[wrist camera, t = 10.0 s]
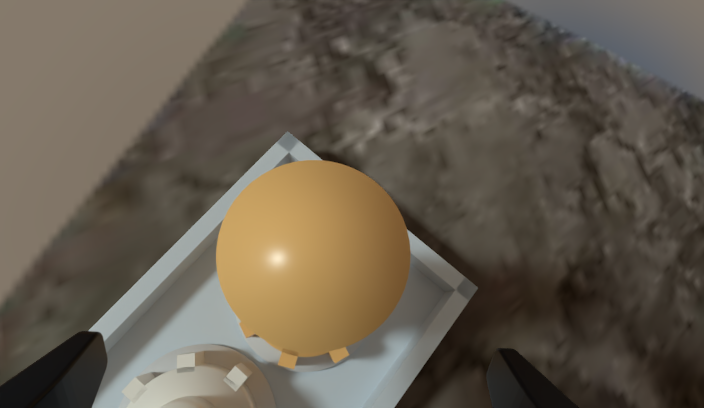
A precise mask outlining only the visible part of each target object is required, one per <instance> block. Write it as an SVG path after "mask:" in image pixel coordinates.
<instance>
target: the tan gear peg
mask: <svg viewBox="0 0 704 408" xmlns="http://www.w3.org/2000/svg"><path fill="white" fill-rule="evenodd" d="M410 257H411V251H410V241H409V236H408V232H407V228H406V225H405V223H404V220H403V217H402V215H401V213H400V211H399V209H398V208H397V206H396V204H395V203H394V202H393V200H392V199H391V197H390V196H389V195H388V194H387V193H386V192H385V190H384V189H383V188H382V187H381V186H380V185H378V184H377V183H376V182H375V181H374V180H372V179H371V178H369V177H368V176H367V175H365V174H364V173H362V172H360V171H358V170H356V169H354V168H351V167H349V166H346V165H343V164H340V163H335V162H331V161H323V160H304V161H297V162H292V163H288V164H284V165H281V166H279V167H276V168H274V169H272V170H270V171H268V172H266V173H264V174H262V175H261V176H259V177H258V178H257V179H255V180H254V181H252V182H251V183H250V184H249V185H248V186H247V187H246V188H245V189H244V190H243V191H242V192H241V193H240V194H239V195H238V197H237V198H236V199H235V200H234V202H233V203H232V205H231V206H230V208H229V210H228V211H227V213H226V216H225V218H224V220H223V222H222V225H221V228H220V232H219V235H218V241H217V247H216V265H217V274H218V278H219V282H220V286H221V289H222V291H223V294H224V296H225V298H226V300H227V302H228V304H229V305H230V307H231V309H232V311H233V312H234V313H235V314H236V316H237V317H238V318H239V319H240V321H241V322H240V323H239V325H240V327H241V329H242V331H243V333H244V335H245V337H246V338H250V337H252V336H254V335H258V336H259V337H260V338H262V339H264V340H265V341H266V342H267V343H268V344H270V345H271V346H272V347H274V348H275V349H277V350H279V351H281V352H282V353H281V356H280V359H279V363H278V365H280V366H284V367H287V368H291V369H294V368H295V364H296V361H297V358H298V357H314V356H319V355H323V354H326V353H329V355H330V357H331V359H332V361H333V362H334V363H337V362H339V361H340V360H342V359H343V358H345V357H347V356H348V355H349V353H348V351H347V349H346V347H347V346H349V345H352V344H354V343H356V342H358V341H360V340H362V339H364V338H365V337H367V336H368V335H369V334H371V333H372V332H374V331H375V330H376V329H377V328H378V327H379V326H380V325H381V324H383V323H384V322H385V320H386V319H387V318H388V317H389V316H390V314H391V313H392V312H393V310H394V309H395V307H396V306H397V304H398V302H399V301H400V298H401V296H402V294H403V292H404V290H405V286H406V283H407V280H408V276H409V269H410Z"/></svg>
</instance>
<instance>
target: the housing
mask: <svg viewBox="0 0 704 408" xmlns="http://www.w3.org/2000/svg"><path fill="white" fill-rule="evenodd" d="M304 160H322V159H321V158H319V157H318V156H317V155H316V154H314V153H313V152H312V151H311V150H310V149H308V148H307V147H306V146H305V145H304V144H302V143H301V142H300V141H299V140H297V139H296V138H295V137H294V136H293V135H291V134H290V133H289V132H288V131H287V132H286V133H285V134H284V135H283V136H282V137H281V138H280V139H279V140H278V141H277V142H276V143H275V144H274V145H273V146H272V147H271V148H270V149H269V150H268V151H267V152H266V153H265V154H264V155H263V156H262V157H261V158H260V159H259V160H258V161H257V162H256V163H255V164H254V165H253V166H252V167H251V168H250V169H249V170H248V171H247V172H246V173H245V174H244V175H243V176H242V177H241V178H240V179H239V180H238V181H237V182H236V183H235V184H234V185H233V186H232V187H231V188H230V189H229V190H228V191H227V192H226V193H225V195H224V196H223V197H222V198H221V199H220V200H219V201H218V202H217V203H216V204H215V205H214V206H213V207H212V208H211V209H210V210H209V211H208V212H207V213H206V214H205V215H204V216H203V217H202V218H201V219H200V220H199V221H198V222H197V223H196V224H195V225H194V226H193V227H192V228H191V229H190V230H189V231H188V232H187V233H186V234H185V235H184V236H183V237H182V238H181V239H180V240H179V241H178V242H177V243H176V244H175V245H174V246H173V247H172V248H171V249H170V250H169V251H168V252H167V253H166V254H165V255H164V256H163V257H162V258H161V259H160V260H159V261H158V262H157V263H156V264H155V265H154V266H153V267H152V268H151V269H150V270H149V271H148V272H147V273H146V274H145V275H144V276H143V277H142V278H141V279H140V280H139V281H138V282H137V283H136V284H135V285H134V286H133V287H132V288H131V289H130V290H129V291H128V292H127V293H126V294H125V295H124V296H123V297H122V298H121V299H120V300H119V301H118V302H117V303H116V304H115V305H114V306H113V307H112V308H111V309H110V310H109V311H108V312H107V313H106V314H105V315H104V316H103V317H102V318H101V319H100V320H99V321H98V322H97V323H96V324H95V325H94V326H93V327H92V328H91V329H90V330H89V331H95V332H100V333H101V334H102V336H103V339H104V344H105V348H106V352H107V357H108V363H107V368H106V371H105V374H104V376H103V379H102V382H101V384H100V387H99V390H98V392H97V395H96V398H95V401H94V403H93V406H92V408H394V407H395V406H396V404H397V403H398V402H399V400H400V399H401V397H402V396H403V394H404V393H405V392H406V390H407V389H408V387H409V386H410V384H411V383H412V382H413V380H414V379H415V377H416V376H417V375H418V373H419V372H420V370H421V369H422V367H423V366H424V365H425V363H426V362H427V360H428V359H429V357H430V356H431V355H432V353H433V352H434V350H435V349H436V347H437V346H438V345H439V343H440V342H441V340H442V339H443V337H444V336H445V335H446V333H447V332H448V330H449V329H450V327H451V326H452V325H453V323H454V322H455V320H456V319H457V317H458V316H459V315H460V313H461V312H462V310H463V309H464V308H465V306H466V305H467V303H468V302H469V300H470V299H471V298H472V296H473V295H474V293H475V292H476V290H477V289H478V287H477V286H476V285H474V284H473V283H472V282H471V281H469V280H468V279H467V278H466V277H465V276H463V275H462V274H461V273H460V272H458V271H457V270H456V269H455V268H454V267H452V266H451V265H450V264H449V263H447V262H446V261H445V260H444V259H443V258H441V257H440V256H439V255H438V254H437V253H435V252H434V251H433V250H432V249H430V248H429V247H428V246H427V245H426V244H424V243H423V242H422V241H421V240H419V239H418V238H417V237H416V236H415V235H413V234H412V233H411V232H410V231H408V230H407V232H408V236H409V241H410V251H411V257H410V269H409V276H408V280H407V283H406V286H405V290H404V292H403V294H402V296H401V298H400V301H399V302H398V304H397V306H396V307H395V309H394V310H393V312H392V313H391V314H390V316H389V317H388V318H387V319H386V320H385V322H384V323H383V324H381V325H380V326H379V327H378V328H377V329H376V330H375V331H374V332H372V333H371V334H369V335H368V336H367V337H365V338H364V339H362V340H360V341H358V342H356V343H354V344H352V345H349V346H347V347H346V349H347V351H348V353H349V355H348V356H347V357H345V358H343V359H342V360H340V361H339V362H337V363H334V362H333V361H332V359H331V357H330V355H329V353H326V354H323V355H319V356H314V357H298V358H297V361H296V364H295V368H294V369H291V368H287V367H284V366H280V365H278V363H279V359H280V356H281V353H282V352H281V351H279V350H277V349H275V348H274V347H272V346H271V345H270V344H268V343H267V342H266V341H265V340H264V339H262V338H260V337H259V336H258V335H254V336H252V337H250V338H246V337H245V335H244V333H243V331H242V329H241V327H240V325H239V323H240V322H241V321H240V319H239V318H238V317H237V316H236V314H235V313H234V312H233V311H232V309H231V307H230V305H229V304H228V302H227V300H226V298H225V296H224V294H223V291H222V289H221V286H220V282H219V278H218V274H217V265H216V247H217V241H218V235H219V232H220V228H221V225H222V222H223V220H224V218H225V216H226V213H227V211H228V210H229V208H230V206H231V205H232V203H233V202H234V200H235V199H236V198H237V197H238V195H239V194H240V193H241V192H242V191H243V190H244V189H245V188H246V187H247V186H248V185H249V184H250V183H251V182H252V181H254V180H255V179H257V178H258V177H259V176H261V175H262V174H264V173H266V172H268V171H270V170H272V169H274V168H276V167H279V166H281V165H284V164H288V163H292V162H297V161H304Z"/></svg>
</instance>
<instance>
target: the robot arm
mask: <svg viewBox="0 0 704 408" xmlns="http://www.w3.org/2000/svg"><path fill="white" fill-rule="evenodd" d="M107 363H108V357H107V352H106V348H105V344H104V339H103V336H102V334H101V333H100V332H95V331H81V332H78V333H76V334H75V335H73V336H72V337H71V338H69V339H68V340H66V341H65V342H63V343H62V344H60V345H59V346H57V347H56V348H55V349H53V350H52V351H50V352H49V353H47V354H46V355H44V356H43V357H41V358H40V359H39V360H37V361H36V362H34V363H33V364H31V365H30V366H28V367H27V368H25V369H24V370H23V371H21V372H20V373H18V374H17V375H15V376H14V377H12V378H11V379H10V380H8V381H7V382H5V383H4V384H2V385H1V386H0V408H92V406H93V403H94V401H95V398H96V395H97V392H98V390H99V387H100V384H101V382H102V379H103V376H104V374H105V371H106V368H107ZM487 383H488V388H489V393H490V397H491V402H492V407H493V408H579V407H578V406H577V405H575V404H574V403H573V402H572V401H571V400H570V399H569V398H568V397H567V396H566V395H564V394H563V393H562V392H561V391H560V390H559V389H558V388H557V387H556V386H555V385H553V384H552V383H551V382H550V381H549V380H548V379H547V378H546V377H545V376H544V375H542V374H541V373H540V372H539V371H538V370H537V369H536V368H535V367H534V366H533V365H531V364H530V363H529V362H528V361H527V360H526V359H525V358H524V357H523V356H522V355H520V354H519V353H518V352H517V351H516V350H514V349H508V348H498V349H496V350H495V352H494V355H493V357H492V360H491V363H490V365H489V368H488V371H487Z"/></svg>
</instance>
